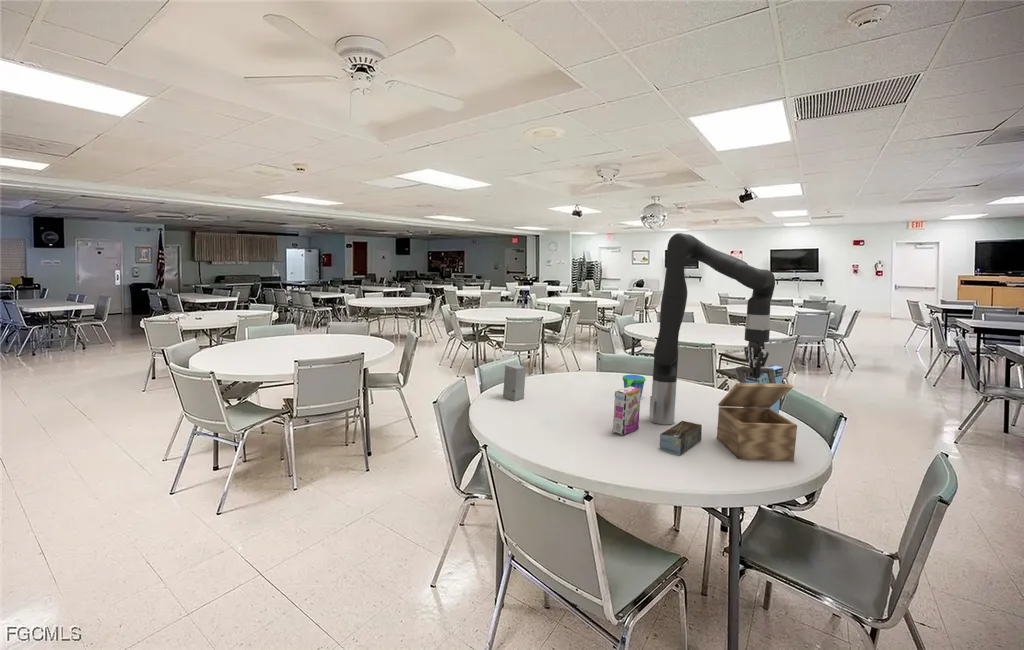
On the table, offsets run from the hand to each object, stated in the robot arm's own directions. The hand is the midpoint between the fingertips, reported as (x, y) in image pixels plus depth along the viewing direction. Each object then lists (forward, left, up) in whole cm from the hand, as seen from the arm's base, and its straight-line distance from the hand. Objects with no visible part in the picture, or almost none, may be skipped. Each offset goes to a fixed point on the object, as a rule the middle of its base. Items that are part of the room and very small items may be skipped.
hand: (754, 377), depth 160 cm
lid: (0, -1, -7) cm, 7 cm away
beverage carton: (-24, -2, -25) cm, 35 cm away
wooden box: (0, -3, -25) cm, 25 cm away
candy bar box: (-41, +11, -25) cm, 49 cm away
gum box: (+15, +24, -25) cm, 38 cm away
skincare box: (-86, +51, -25) cm, 103 cm away
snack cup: (-29, +58, -25) cm, 69 cm away
